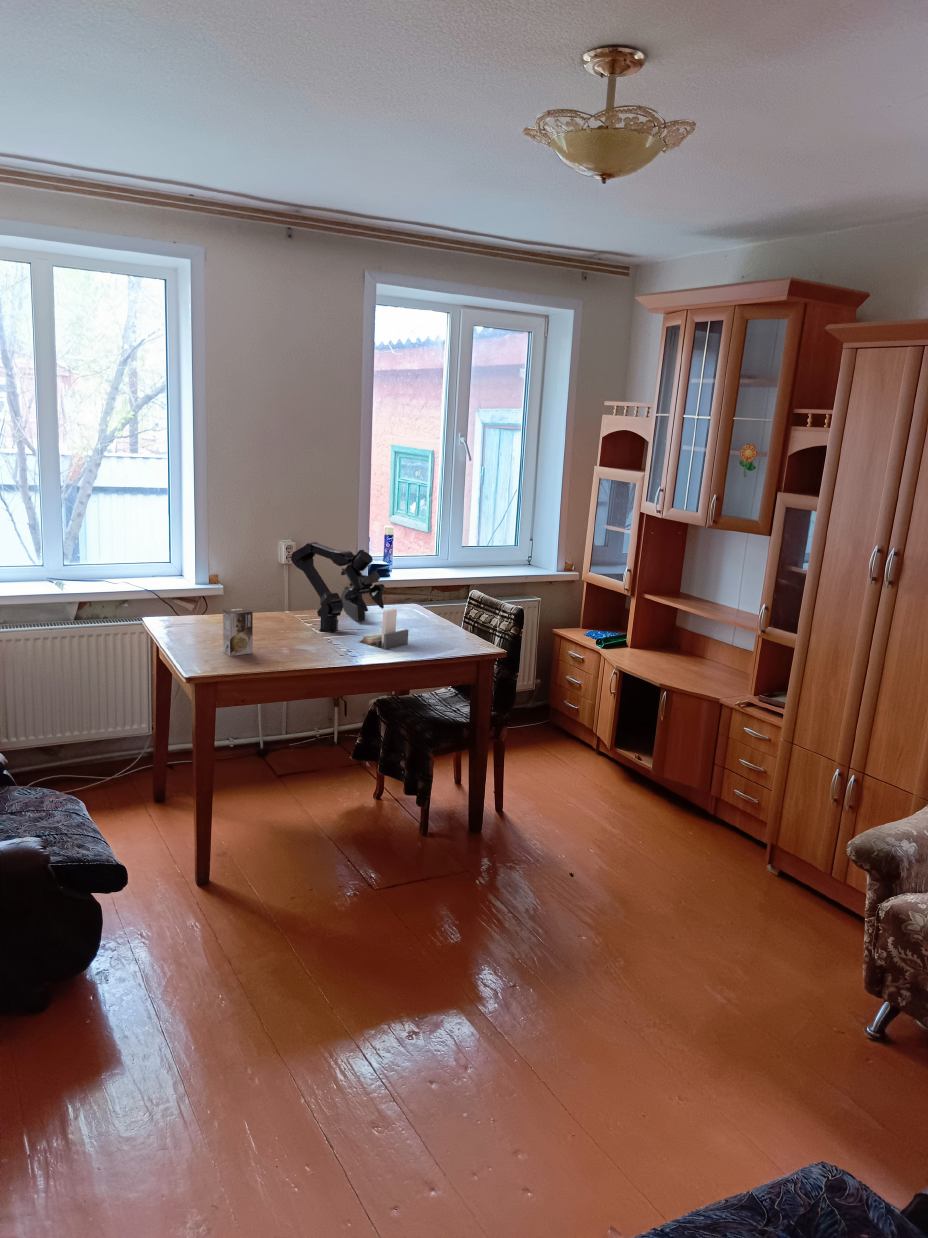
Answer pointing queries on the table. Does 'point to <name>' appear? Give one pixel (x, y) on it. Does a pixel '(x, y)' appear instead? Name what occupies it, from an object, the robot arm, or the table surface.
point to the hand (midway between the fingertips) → (375, 609)
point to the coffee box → (237, 631)
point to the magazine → (352, 608)
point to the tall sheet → (388, 622)
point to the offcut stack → (371, 639)
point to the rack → (392, 640)
